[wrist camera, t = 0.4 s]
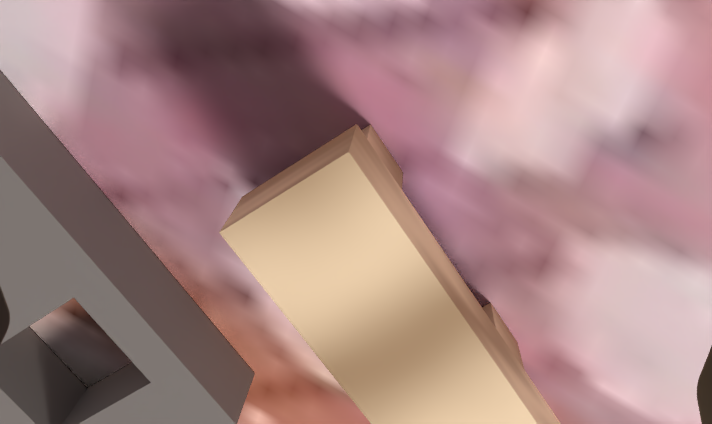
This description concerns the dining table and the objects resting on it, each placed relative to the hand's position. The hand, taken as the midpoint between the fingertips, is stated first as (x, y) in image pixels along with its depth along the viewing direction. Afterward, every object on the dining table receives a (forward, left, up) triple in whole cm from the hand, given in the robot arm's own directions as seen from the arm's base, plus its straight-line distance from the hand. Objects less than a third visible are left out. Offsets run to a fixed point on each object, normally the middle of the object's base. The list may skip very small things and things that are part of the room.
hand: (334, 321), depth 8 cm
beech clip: (-3, -6, -15) cm, 16 cm away
